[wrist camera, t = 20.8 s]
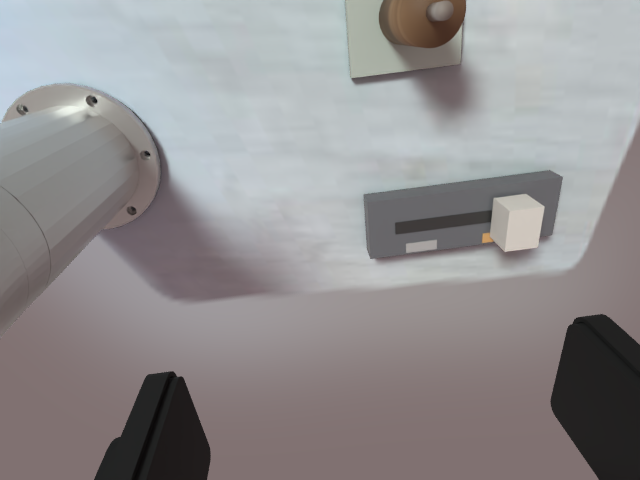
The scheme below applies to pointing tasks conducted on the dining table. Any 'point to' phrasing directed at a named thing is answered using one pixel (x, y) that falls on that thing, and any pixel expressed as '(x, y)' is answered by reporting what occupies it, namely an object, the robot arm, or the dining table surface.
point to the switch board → (450, 213)
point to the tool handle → (421, 21)
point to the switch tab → (516, 222)
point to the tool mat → (389, 45)
